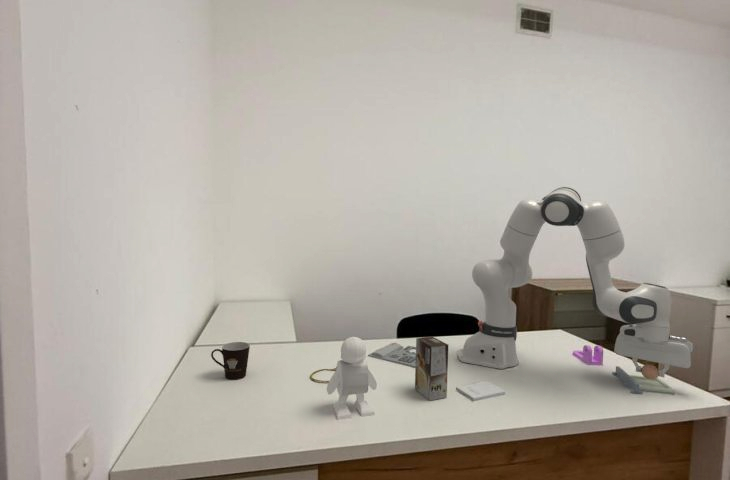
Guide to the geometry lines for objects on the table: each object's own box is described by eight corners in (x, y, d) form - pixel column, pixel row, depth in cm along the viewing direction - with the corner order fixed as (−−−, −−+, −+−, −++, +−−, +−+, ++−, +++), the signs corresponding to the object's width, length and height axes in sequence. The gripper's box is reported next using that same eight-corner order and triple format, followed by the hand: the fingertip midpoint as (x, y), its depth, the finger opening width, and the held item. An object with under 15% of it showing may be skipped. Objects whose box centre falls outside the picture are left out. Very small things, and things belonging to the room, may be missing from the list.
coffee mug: (254, 374, 127) (255, 344, 127) (236, 383, 119) (236, 352, 119) (228, 367, 132) (228, 339, 132) (208, 376, 124) (209, 346, 124)
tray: (638, 390, 123) (638, 386, 123) (625, 378, 133) (625, 374, 133) (674, 394, 121) (674, 390, 121) (658, 382, 130) (658, 378, 130)
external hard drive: (505, 396, 117) (473, 402, 112) (486, 385, 125) (455, 391, 119) (505, 390, 117) (473, 397, 112) (486, 380, 125) (455, 386, 119)
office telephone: (367, 351, 147) (392, 338, 164) (367, 358, 148) (391, 345, 164) (423, 364, 135) (443, 349, 152) (423, 371, 135) (443, 355, 152)
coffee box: (447, 397, 114) (450, 344, 113) (429, 401, 111) (431, 346, 111) (430, 385, 122) (432, 335, 122) (413, 388, 120) (415, 337, 119)
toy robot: (330, 420, 99) (332, 344, 98) (323, 404, 107) (325, 334, 107) (381, 413, 103) (383, 340, 102) (370, 399, 112) (372, 331, 111)
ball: (642, 380, 125) (643, 365, 125) (638, 375, 130) (639, 361, 129) (660, 383, 123) (661, 368, 123) (656, 377, 128) (657, 363, 127)
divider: (631, 392, 121) (632, 383, 121) (612, 374, 136) (612, 365, 136) (642, 394, 120) (642, 384, 120) (621, 375, 136) (622, 366, 136)
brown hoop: (361, 380, 126) (361, 374, 125) (314, 387, 120) (315, 381, 119) (348, 367, 137) (349, 361, 137) (305, 372, 131) (305, 367, 131)
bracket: (602, 365, 145) (603, 347, 145) (587, 365, 145) (588, 347, 145) (583, 354, 158) (584, 337, 158) (570, 353, 158) (570, 336, 158)
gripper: (693, 337, 122) (690, 379, 122) (616, 325, 135) (614, 363, 135) (694, 341, 117) (691, 385, 117) (614, 328, 130) (612, 368, 130)
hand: (649, 374), depth 126 cm, fingers closed on ball, 5 cm apart
